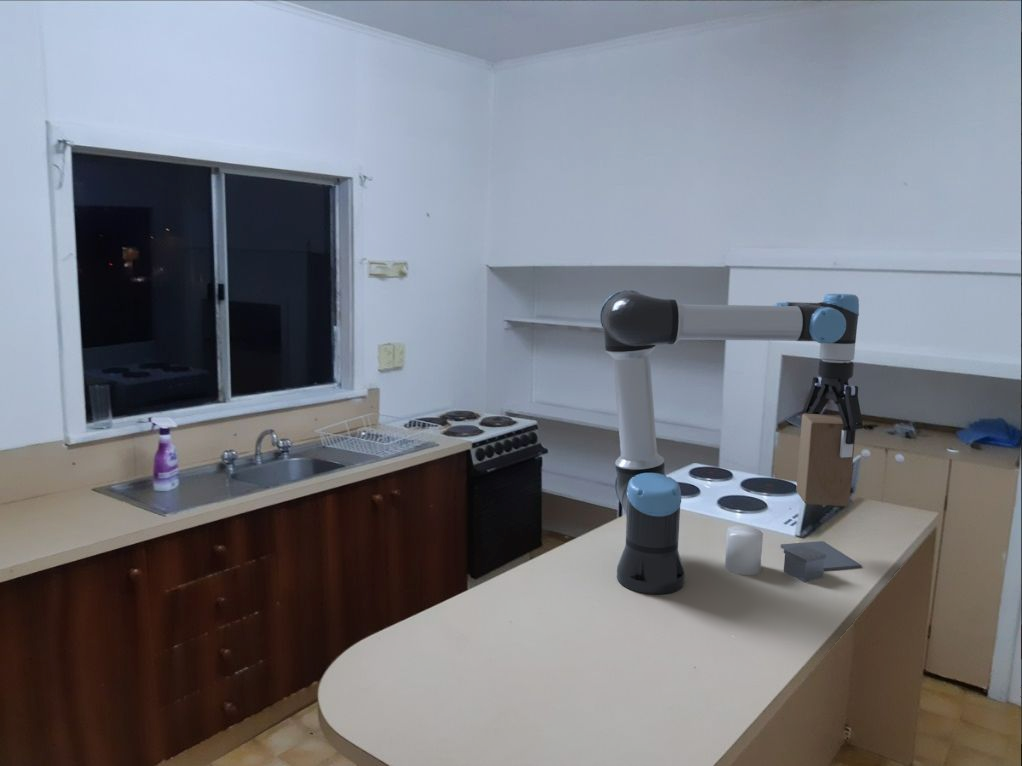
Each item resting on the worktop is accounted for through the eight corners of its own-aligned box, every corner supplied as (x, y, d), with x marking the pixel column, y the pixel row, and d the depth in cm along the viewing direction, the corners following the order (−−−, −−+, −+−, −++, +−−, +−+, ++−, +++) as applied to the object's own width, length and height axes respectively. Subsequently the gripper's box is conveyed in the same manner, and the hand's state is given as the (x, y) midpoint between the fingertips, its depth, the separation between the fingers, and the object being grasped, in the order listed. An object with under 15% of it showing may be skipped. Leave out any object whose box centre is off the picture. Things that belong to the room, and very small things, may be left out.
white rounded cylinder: (735, 576, 170) (737, 539, 168) (718, 562, 177) (721, 526, 176) (767, 573, 171) (769, 537, 170) (749, 559, 179) (751, 524, 177)
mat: (816, 571, 173) (816, 568, 173) (780, 546, 187) (780, 544, 187) (861, 567, 175) (861, 564, 175) (822, 543, 190) (823, 540, 189)
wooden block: (849, 507, 173) (856, 424, 170) (804, 504, 175) (811, 422, 171) (837, 493, 183) (844, 414, 179) (795, 491, 184) (801, 413, 181)
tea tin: (804, 583, 167) (806, 559, 166) (782, 572, 172) (783, 549, 171) (824, 577, 170) (826, 554, 169) (801, 567, 175) (803, 544, 174)
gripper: (886, 367, 162) (877, 462, 166) (819, 353, 185) (813, 436, 189) (855, 368, 160) (847, 464, 164) (792, 353, 184) (786, 438, 187)
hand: (829, 449), depth 176 cm, fingers closed on wooden block, 12 cm apart
